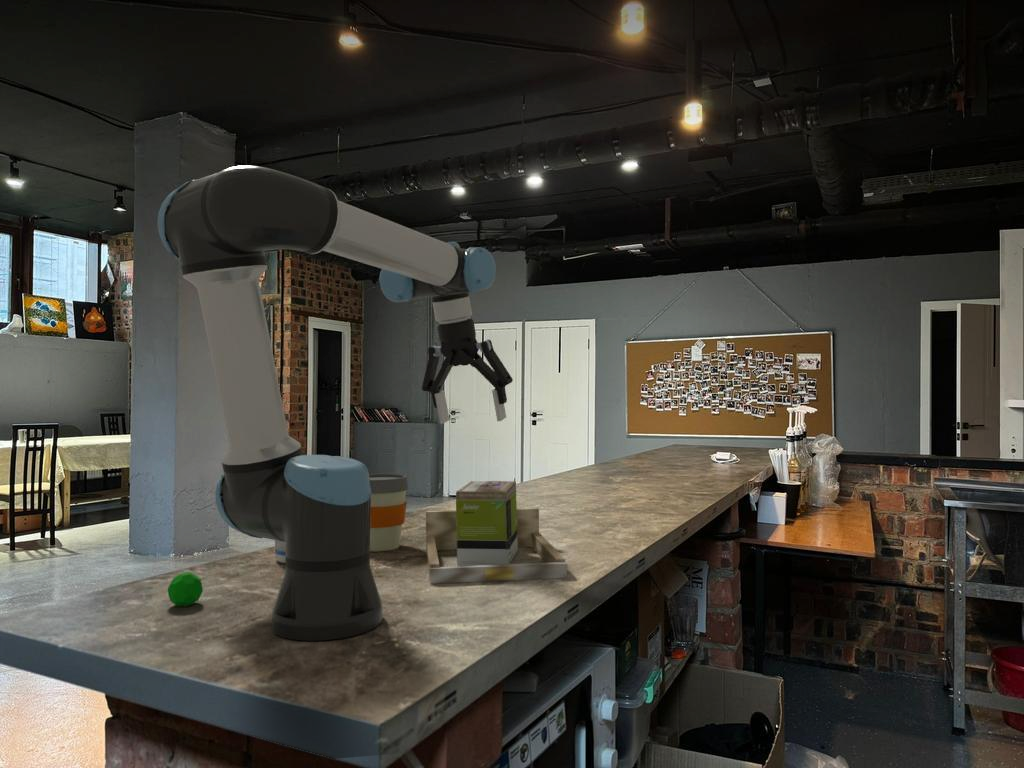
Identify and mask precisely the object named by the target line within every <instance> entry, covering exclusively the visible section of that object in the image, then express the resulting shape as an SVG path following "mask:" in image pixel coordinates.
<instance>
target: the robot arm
mask: <svg viewBox="0 0 1024 768" xmlns="http://www.w3.org/2000/svg"><path fill="white" fill-rule="evenodd" d="M157 230H158V235H159V237H160V241H161V242H162V245H163V246H164V248H165V249H166V251H168V253H170V254H171V255H172V256H173V257H174V258H175V259H176V260H177V261H179V262H180V263H179V264H180V267H181V272H182V278H183V279H184V280H186V282H189V283H190V284H192V285H193V286H194V287H195V288H196V290H197V293H198V299H199V303H200V304H199V305H200V308H201V313H202V317H203V322H204V327H205V332H206V337H207V338H206V339H207V342H208V348H209V352H210V357H211V362H212V367H213V372H214V375H215V382H216V385H217V386H216V387H217V391H218V395H219V397H218V398H219V401H220V406H221V411H222V415H223V420H224V424H225V431H226V433H227V440H228V444H229V445H228V446H229V447H228V450H227V451H226V452H225V454H224V455H223V456H222V458H221V464H222V465H221V466H222V470H223V472H222V474H221V476H220V480H219V482H217V483H216V487H215V492H214V493H215V496H214V497H215V505H216V508H217V511H218V513H219V515H220V517H221V519H223V521H224V522H225V524H227V526H229V527H230V528H232V529H233V530H235V531H237V532H238V533H242V534H245V535H246V536H249V537H251V538H257V539H268V540H274V541H275V540H277V541H282V542H285V556H286V563H284V564H285V567H284V568H285V569H284V575H283V578H282V580H281V585H280V588H279V590H278V594H277V595H276V600H275V602H274V606H273V608H272V609H273V610H272V613H271V629H272V632H273V633H274V634H275V635H277V636H279V637H283V638H286V639H290V640H297V641H328V640H329V641H331V640H338V639H343V638H349V637H353V636H357V635H361V634H363V633H367V632H369V631H372V630H373V629H375V628H377V627H378V626H380V624H381V623H382V621H383V603H382V600H381V599H382V598H381V596H380V593H379V590H378V587H377V584H376V581H375V578H374V575H373V572H372V569H371V551H370V508H371V488H370V483H369V474H370V473H369V469H368V468H367V466H366V464H364V463H363V462H361V461H360V460H357V459H354V458H350V457H345V456H339V455H335V456H334V455H328V454H303V450H302V445H301V442H299V441H298V440H297V439H294V437H292V436H290V434H289V430H288V426H287V421H286V415H285V410H284V405H283V404H284V403H283V400H282V393H281V389H280V384H279V379H278V374H277V367H276V363H275V358H274V354H273V353H274V352H273V348H272V342H271V337H270V333H269V332H270V331H269V327H268V321H267V317H266V311H265V305H264V302H263V301H264V300H263V296H262V290H261V286H260V278H261V277H262V276H263V274H264V273H265V272H266V270H267V269H268V265H267V259H266V254H265V252H267V251H275V250H293V251H298V252H302V253H306V254H310V255H315V254H318V253H321V252H326V253H329V254H333V255H336V256H339V257H343V258H346V259H348V260H352V261H356V262H358V263H361V264H365V265H368V266H372V267H376V268H378V269H381V271H380V273H379V278H378V280H379V285H380V290H381V292H382V294H383V295H384V297H385V299H388V300H389V301H390V302H393V303H403V302H404V303H405V302H406V303H407V302H410V301H411V300H417V299H425V298H431V302H432V307H433V312H434V319H435V322H438V324H437V325H436V328H437V329H436V330H437V335H438V339H439V341H440V346H439V345H437V344H434V345H431V346H429V347H428V349H427V350H428V351H427V354H428V360H427V364H426V368H425V372H424V377H423V382H422V385H421V390H422V391H423V392H429V393H430V394H431V397H432V398H431V399H432V402H433V408H435V409H437V413H438V414H437V415H438V419H439V424H440V425H443V424H445V423H447V422H449V421H450V416H449V409H448V405H447V399H446V393H445V390H442V387H443V385H444V383H445V382H446V380H447V378H448V376H449V374H450V372H451V370H452V368H453V367H458V366H463V367H464V366H468V365H470V366H471V367H472V368H474V369H476V370H477V371H478V373H480V374H481V375H482V376H483V377H484V379H486V381H488V382H489V384H491V385H492V386H493V387H494V388H493V389H492V390H491V394H492V399H493V405H494V411H495V416H496V421H497V422H502V421H503V420H505V419H506V418H507V414H506V406H505V404H506V403H507V402H508V398H507V392H506V386H508V385H510V384H511V383H512V382H513V380H514V379H513V378H512V376H511V374H510V373H509V371H508V370H507V368H506V367H505V365H504V364H503V362H502V360H501V358H499V355H498V354H497V353H496V351H495V350H494V347H493V343H492V340H491V339H486V340H484V341H480V342H478V340H477V339H476V337H477V334H476V333H477V332H476V328H475V322H474V319H473V318H471V316H472V315H473V310H472V307H471V306H472V305H471V299H470V294H469V293H473V294H474V293H477V292H479V291H484V290H487V289H489V288H490V287H491V286H492V285H493V284H494V281H495V279H496V276H497V275H496V273H497V272H496V270H497V267H496V261H495V258H494V256H493V254H491V252H490V251H489V250H488V249H486V248H485V247H474V246H473V247H472V246H471V247H468V248H461V246H460V245H459V244H460V243H458V242H456V241H448V242H445V241H442V240H440V239H437V238H434V237H432V236H430V235H427V234H425V233H422V232H420V231H417V230H414V229H412V228H409V227H407V226H404V225H402V224H399V223H397V222H395V221H392V220H389V219H387V218H383V217H381V216H379V215H377V214H374V213H371V212H369V211H366V210H365V209H364V210H363V209H360V208H358V207H356V206H353V205H350V204H348V203H346V202H343V201H340V200H338V197H337V195H336V194H335V192H334V191H333V190H332V189H330V188H328V187H325V186H322V185H319V184H317V183H315V182H313V181H310V180H307V179H304V178H302V177H299V176H296V175H293V174H290V173H287V172H283V171H280V170H278V169H277V170H276V169H273V168H269V167H264V166H258V165H250V164H249V165H248V164H247V165H237V166H231V167H228V168H226V169H225V168H224V169H222V170H221V171H218V172H216V173H213V174H210V175H207V176H203V177H201V178H198V179H197V178H196V179H192V180H190V181H187V182H185V183H184V184H182V185H180V186H179V187H178V188H176V189H174V190H172V192H170V193H169V194H168V195H167V196H166V197H165V199H163V202H162V203H161V205H160V208H159V210H158V216H157ZM478 351H480V352H481V353H482V354H483V355H484V357H485V359H486V361H487V362H488V364H487V363H486V362H485V361H484V358H483V357H482V356H481V355H480V354H479V353H478ZM441 354H442V356H444V360H443V362H442V364H441V367H440V369H439V371H438V365H439V361H440V356H441ZM437 371H438V373H437ZM436 373H437V375H436Z"/></svg>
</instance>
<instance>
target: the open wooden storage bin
mask: <svg viewBox="0 0 1024 768" xmlns="http://www.w3.org/2000/svg"><path fill="white" fill-rule="evenodd" d="M517 536H518V548H528V547H529V548H530V547H531V548H532V549H533V550H534V551H535V553H536V554H537V555H538V557H540V558H541V560H542V561H543V562H536V563H535V562H534V563H533V562H532V563H510V564H502V565H477V566H457V565H455V566H454V565H453V566H440V561H439V556H438V551H452V550H453V551H454V550H456V551H457V527H456V509H452V510H451V509H450V510H449V509H447V510H446V509H445V510H425V553H426V560H427V568H428V577H429V583H430V585H431V584H452V583H453V584H455V583H457V584H458V583H479V582H480V583H481V582H496V581H497V582H499V581H501V582H502V581H520V580H547V579H548V580H549V579H565V578H566V579H567V578H568V576H567V575H568V571H567V569H568V567H567V566H568V564H567V562H566V558H565V557H564V556H563V555H562V554H561V553H560V552H559V551H558V550H557V549H556V547H554V546H553V545H552V544H551V543H550V542H549V541H548V540H547V539H546V538H545V536H543V535H542V534H541V533H540V508H539V507H520V508H519V507H518V508H517Z"/></svg>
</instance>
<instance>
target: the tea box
mask: <svg viewBox="0 0 1024 768" xmlns="http://www.w3.org/2000/svg"><path fill="white" fill-rule="evenodd" d="M517 507H518V505H517V481H515V480H512V481H511V480H510V481H508V480H504V481H503V480H482V481H481V480H477V481H473V480H471V481H469V482H467V484H465V485H464V486H462V487H461V488H459V489H458V490H456V492H455V510H456V527H457V549H456V562H457V563H456V566H477V565H502V564H511V562H512V560H513V559H514V558H515V556H516V554H517V552H518V551H519V547H518V536H517Z"/></svg>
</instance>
